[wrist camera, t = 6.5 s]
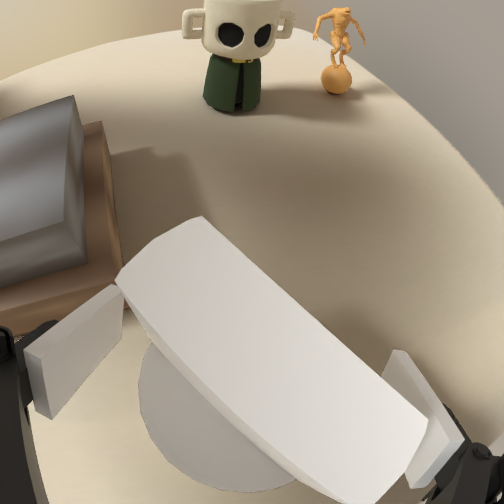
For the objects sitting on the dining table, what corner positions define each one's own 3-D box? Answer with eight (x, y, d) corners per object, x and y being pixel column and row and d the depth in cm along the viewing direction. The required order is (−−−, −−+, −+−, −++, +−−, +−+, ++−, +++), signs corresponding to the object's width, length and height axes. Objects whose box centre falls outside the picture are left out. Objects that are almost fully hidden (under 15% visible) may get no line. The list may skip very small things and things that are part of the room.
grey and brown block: (-22, 199, 22) (-57, 141, 15) (109, 155, 26) (93, 80, 19) (-37, 347, 15) (-105, 305, 8) (131, 307, 19) (94, 239, 12)
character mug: (185, 123, 29) (187, 0, 18) (178, 89, 32) (180, -14, 21) (287, 116, 32) (315, 6, 21) (267, 84, 35) (286, -11, 24)
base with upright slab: (338, 395, 18) (474, 343, 8) (238, 499, 14) (282, 596, 4) (236, 301, 20) (265, 163, 10) (129, 393, 16) (25, 341, 6)
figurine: (315, 101, 34) (341, 13, 24) (290, 77, 37) (309, -3, 27) (364, 98, 37) (393, 24, 27) (338, 76, 39) (361, 6, 29)
